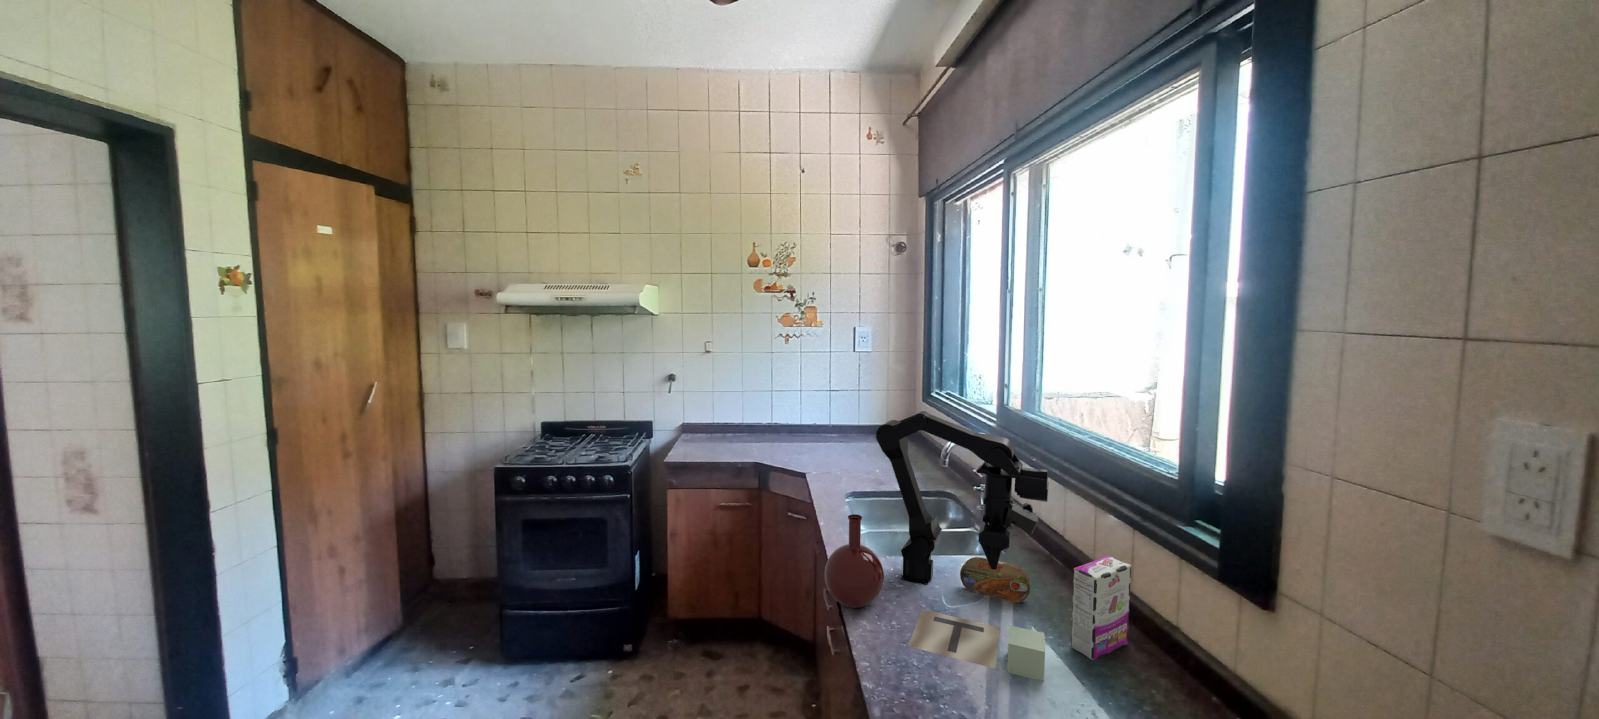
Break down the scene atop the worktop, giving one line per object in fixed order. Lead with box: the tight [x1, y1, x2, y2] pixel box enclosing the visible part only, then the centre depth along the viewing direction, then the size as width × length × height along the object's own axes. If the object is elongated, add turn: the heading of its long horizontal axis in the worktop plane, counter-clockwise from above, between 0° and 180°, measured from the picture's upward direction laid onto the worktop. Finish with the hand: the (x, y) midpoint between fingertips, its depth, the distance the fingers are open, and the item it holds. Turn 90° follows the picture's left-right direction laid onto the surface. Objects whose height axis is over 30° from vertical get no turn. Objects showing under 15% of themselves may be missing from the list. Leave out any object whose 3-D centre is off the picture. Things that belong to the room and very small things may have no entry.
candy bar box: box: [1070, 555, 1132, 661], centre depth 103 cm, size 11×5×16 cm, turn 117°
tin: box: [959, 556, 1031, 604], centre depth 121 cm, size 15×3×8 cm, turn 62°
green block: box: [1006, 625, 1046, 682], centre depth 97 cm, size 6×6×6 cm
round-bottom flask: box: [824, 513, 885, 609], centre depth 118 cm, size 13×13×20 cm
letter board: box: [908, 608, 1001, 669], centre depth 106 cm, size 16×14×1 cm
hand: (994, 560), depth 121 cm, fingers open, 9 cm apart
